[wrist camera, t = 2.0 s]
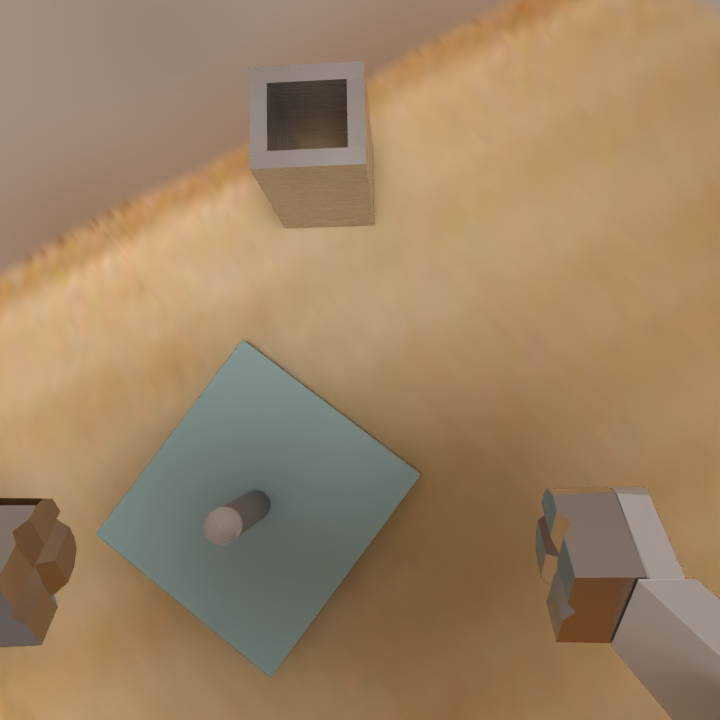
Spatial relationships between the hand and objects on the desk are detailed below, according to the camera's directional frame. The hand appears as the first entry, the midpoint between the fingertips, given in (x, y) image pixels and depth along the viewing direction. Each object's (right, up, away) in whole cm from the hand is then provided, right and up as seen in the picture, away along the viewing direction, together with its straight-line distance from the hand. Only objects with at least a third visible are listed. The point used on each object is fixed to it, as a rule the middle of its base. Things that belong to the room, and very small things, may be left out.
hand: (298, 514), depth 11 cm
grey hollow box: (-1, +12, +22) cm, 25 cm away
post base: (-4, -5, +21) cm, 22 cm away
